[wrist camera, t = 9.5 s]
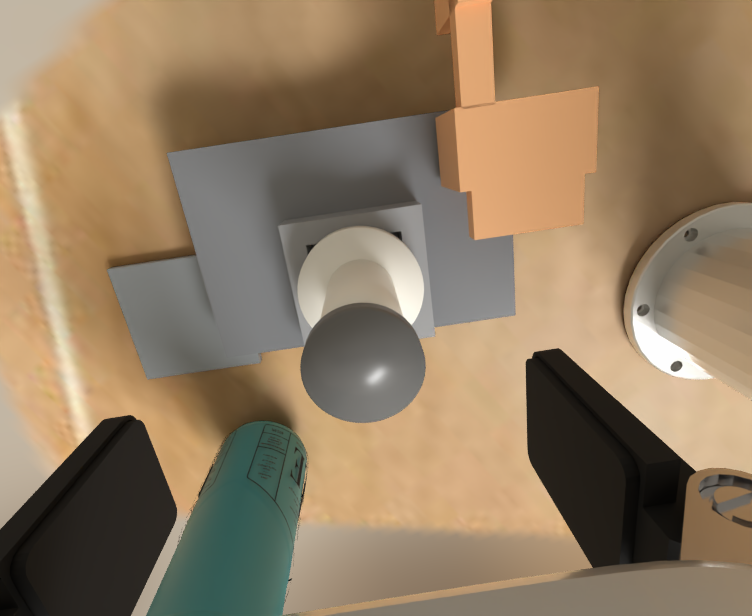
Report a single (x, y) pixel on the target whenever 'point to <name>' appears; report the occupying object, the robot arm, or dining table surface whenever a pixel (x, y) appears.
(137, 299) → the mat
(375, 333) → the plug
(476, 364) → the dining table surface
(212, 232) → the grey base plate
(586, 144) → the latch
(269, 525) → the beverage bottle
